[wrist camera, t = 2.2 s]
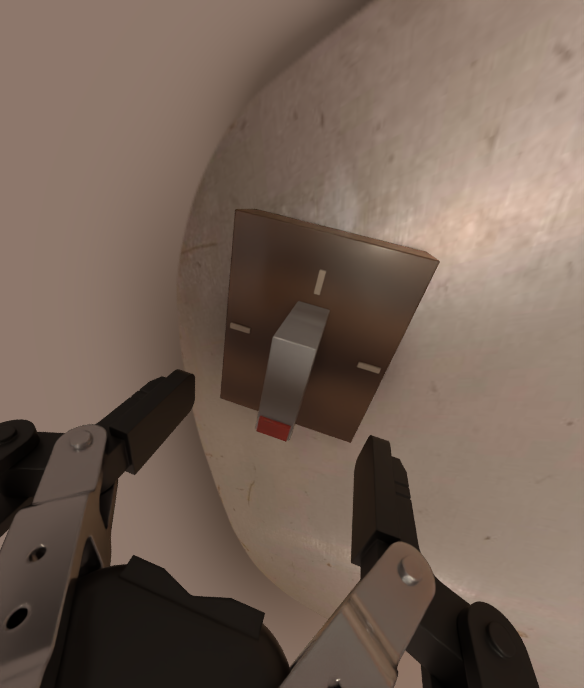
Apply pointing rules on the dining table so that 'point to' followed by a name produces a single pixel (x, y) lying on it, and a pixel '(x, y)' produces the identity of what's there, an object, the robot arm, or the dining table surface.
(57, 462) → the robot arm
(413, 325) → the dining table surface
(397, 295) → the panel
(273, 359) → the tap handle
